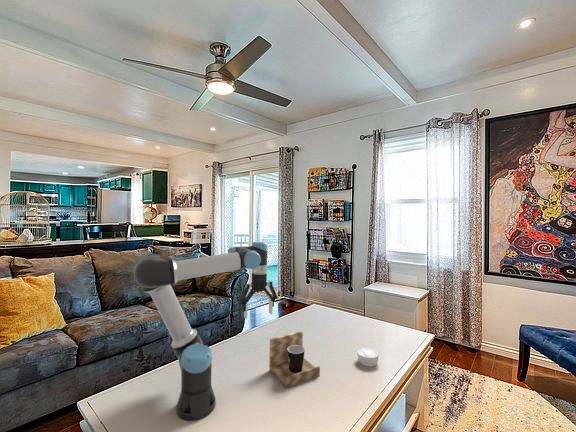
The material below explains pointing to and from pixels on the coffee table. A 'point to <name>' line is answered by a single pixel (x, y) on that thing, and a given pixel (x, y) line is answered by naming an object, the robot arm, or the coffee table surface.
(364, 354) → the ramekin
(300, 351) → the coffee mug
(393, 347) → the coffee table surface
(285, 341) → the light brown blocky piece
